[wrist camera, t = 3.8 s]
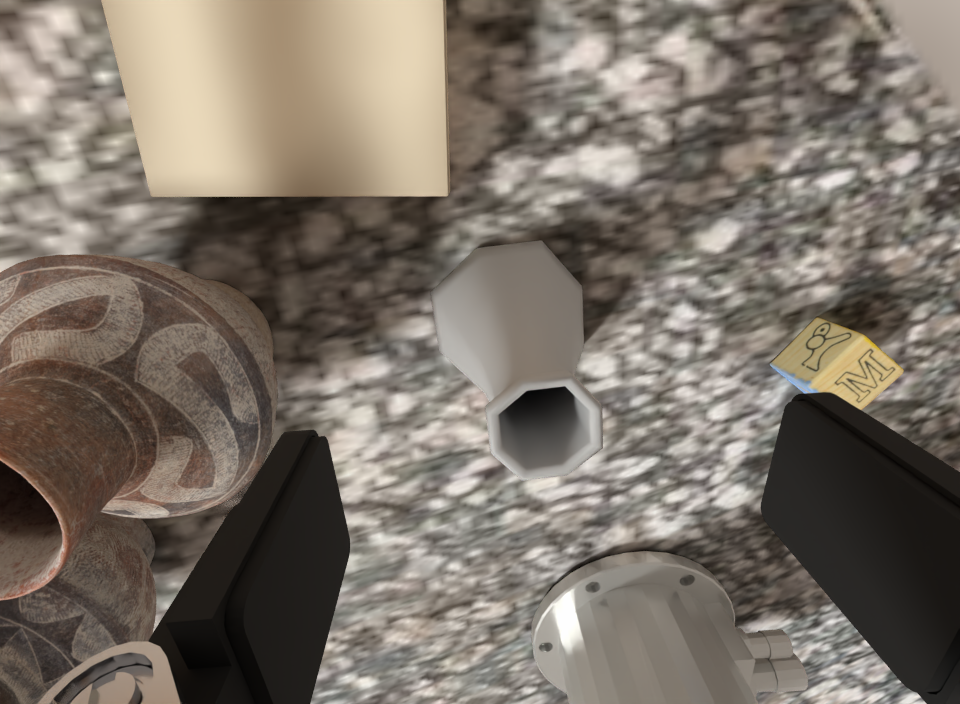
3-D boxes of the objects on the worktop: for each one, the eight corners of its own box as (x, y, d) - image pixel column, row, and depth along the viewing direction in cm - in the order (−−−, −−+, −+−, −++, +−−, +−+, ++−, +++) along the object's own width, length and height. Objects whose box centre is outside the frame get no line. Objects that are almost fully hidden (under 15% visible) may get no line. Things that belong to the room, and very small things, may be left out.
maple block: (443, -116, 16) (438, -205, 12) (450, 191, 19) (447, 196, 16) (147, -122, 15) (46, -216, 12) (211, 191, 19) (151, 196, 15)
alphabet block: (765, 362, 23) (808, 389, 20) (814, 313, 22) (867, 335, 19) (804, 393, 24) (850, 424, 21) (853, 348, 23) (909, 373, 20)
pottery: (370, 317, 21) (271, 482, 10) (165, 634, 28) (-27, 936, 17) (126, 166, 18) (-387, 159, 7) (-34, 559, 25) (-418, 862, 14)
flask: (472, 409, 23) (479, 570, 14) (403, 281, 20) (355, 374, 11) (606, 351, 22) (711, 481, 13) (551, 210, 20) (634, 247, 10)
